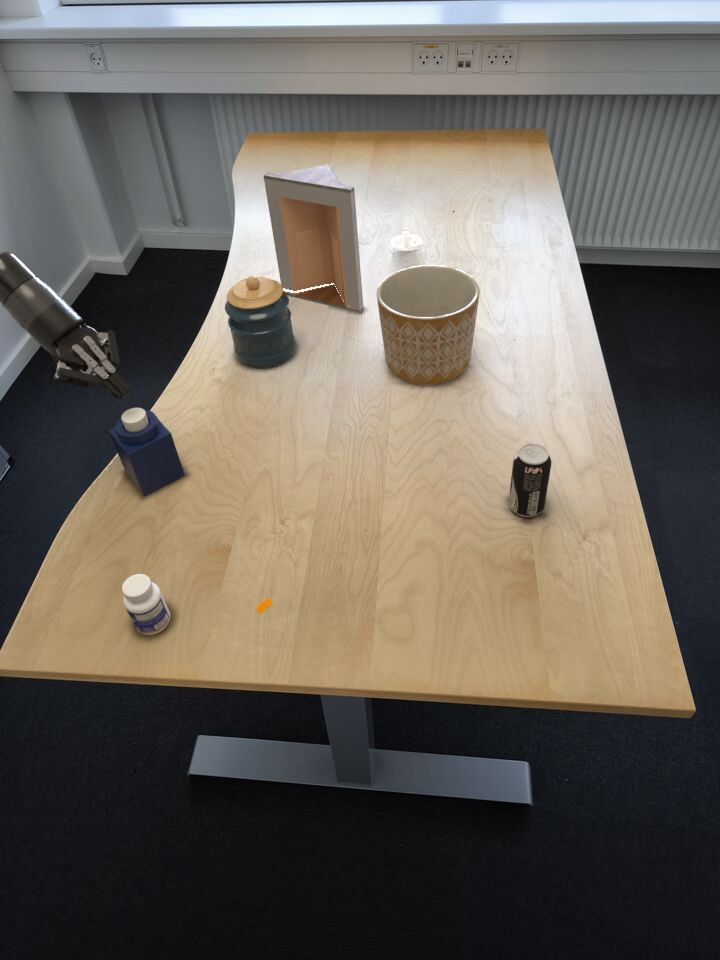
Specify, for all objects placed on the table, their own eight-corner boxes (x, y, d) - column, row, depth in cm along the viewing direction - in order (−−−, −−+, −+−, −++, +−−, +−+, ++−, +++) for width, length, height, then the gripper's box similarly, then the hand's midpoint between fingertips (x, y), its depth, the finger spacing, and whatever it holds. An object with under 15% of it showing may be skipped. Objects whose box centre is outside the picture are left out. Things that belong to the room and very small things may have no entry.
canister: (224, 364, 154) (206, 289, 141) (252, 330, 162) (237, 257, 150) (280, 374, 150) (267, 298, 137) (306, 339, 158) (295, 264, 146)
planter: (491, 378, 144) (496, 304, 132) (398, 401, 141) (395, 327, 129) (454, 327, 157) (456, 256, 146) (368, 347, 154) (363, 276, 143)
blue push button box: (144, 496, 127) (123, 445, 119) (125, 472, 132) (104, 421, 123) (185, 475, 130) (168, 424, 122) (165, 452, 135) (147, 401, 126)
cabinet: (282, 294, 172) (263, 175, 153) (304, 274, 178) (288, 157, 158) (360, 312, 164) (350, 189, 144) (380, 292, 170) (373, 170, 150)
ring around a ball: (394, 259, 180) (425, 254, 181) (393, 237, 176) (425, 232, 177) (387, 245, 186) (418, 240, 187) (386, 223, 182) (417, 219, 183)
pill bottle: (133, 612, 110) (115, 575, 103) (168, 601, 110) (152, 565, 104) (137, 640, 106) (118, 604, 100) (173, 629, 107) (157, 593, 101)
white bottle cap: (130, 435, 121) (127, 426, 119) (121, 423, 123) (117, 414, 122) (152, 425, 122) (149, 415, 121) (142, 413, 125) (139, 404, 123)
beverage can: (523, 489, 122) (530, 435, 114) (551, 506, 119) (560, 452, 110) (501, 507, 120) (506, 453, 111) (529, 525, 116) (536, 471, 108)
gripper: (17, 325, 108) (105, 411, 112) (80, 282, 116) (160, 363, 120) (6, 347, 113) (91, 428, 117) (67, 304, 121) (144, 381, 125)
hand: (126, 395), depth 118 cm, fingers closed
